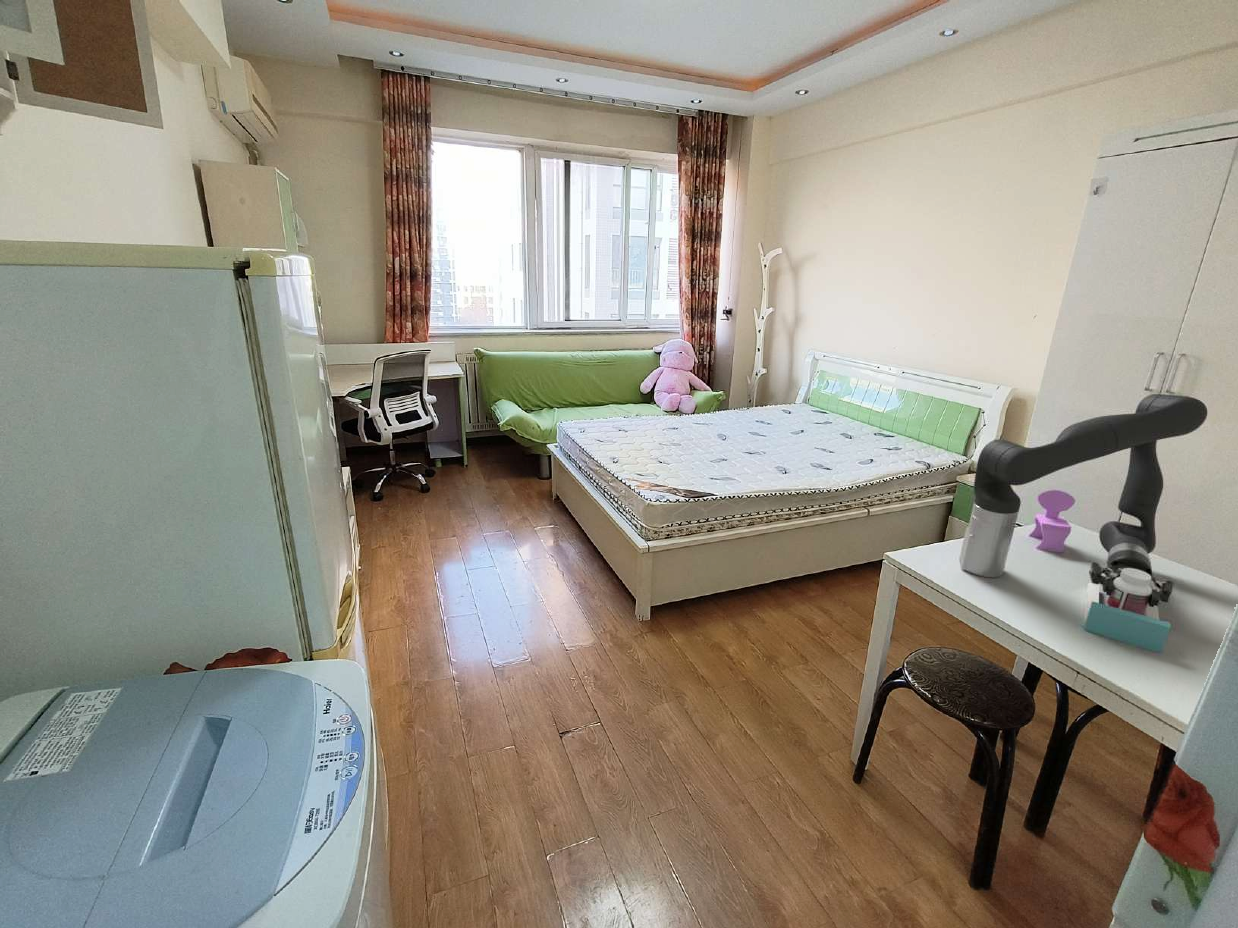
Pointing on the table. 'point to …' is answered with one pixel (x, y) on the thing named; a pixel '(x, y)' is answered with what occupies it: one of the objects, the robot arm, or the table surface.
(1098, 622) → the guide
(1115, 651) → the table surface
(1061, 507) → the toy chair
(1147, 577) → the pill bottle
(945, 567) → the table surface
